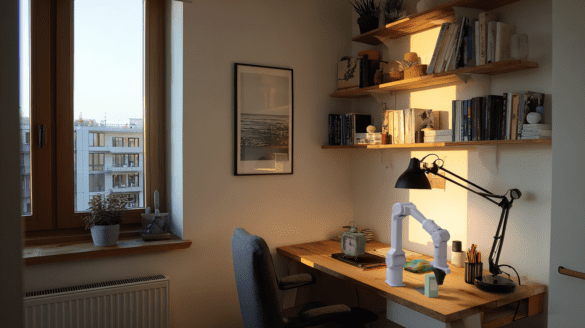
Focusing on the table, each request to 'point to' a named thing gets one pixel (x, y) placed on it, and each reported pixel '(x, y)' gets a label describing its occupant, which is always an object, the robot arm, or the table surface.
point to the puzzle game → (418, 265)
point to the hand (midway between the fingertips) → (439, 284)
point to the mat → (420, 289)
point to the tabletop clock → (353, 242)
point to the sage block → (431, 285)
